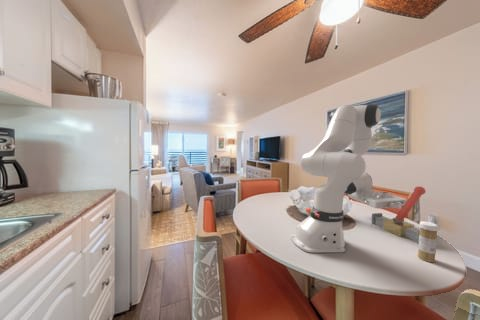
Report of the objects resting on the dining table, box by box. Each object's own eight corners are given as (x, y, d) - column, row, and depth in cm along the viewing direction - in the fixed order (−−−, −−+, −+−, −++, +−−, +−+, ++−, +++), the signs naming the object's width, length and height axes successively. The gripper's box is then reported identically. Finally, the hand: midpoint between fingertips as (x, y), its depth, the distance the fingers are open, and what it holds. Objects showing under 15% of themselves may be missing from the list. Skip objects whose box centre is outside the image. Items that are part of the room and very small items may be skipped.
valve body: (418, 244, 75) (419, 232, 74) (369, 223, 96) (370, 213, 96) (432, 243, 76) (433, 230, 76) (381, 222, 98) (382, 212, 98)
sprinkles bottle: (428, 256, 67) (431, 221, 66) (439, 263, 62) (442, 226, 62) (414, 254, 68) (416, 220, 67) (423, 261, 63) (426, 225, 63)
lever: (397, 224, 84) (422, 190, 75) (390, 218, 88) (413, 185, 78) (404, 223, 85) (430, 189, 76) (397, 218, 89) (421, 184, 79)
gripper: (360, 194, 94) (387, 202, 81) (390, 192, 99) (420, 199, 86) (359, 205, 95) (386, 215, 82) (389, 203, 100) (418, 212, 86)
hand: (403, 207), depth 84 cm, fingers closed, pressing on lever
